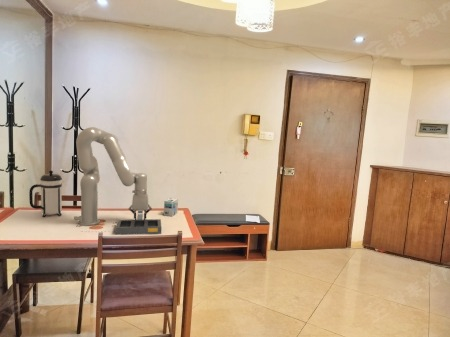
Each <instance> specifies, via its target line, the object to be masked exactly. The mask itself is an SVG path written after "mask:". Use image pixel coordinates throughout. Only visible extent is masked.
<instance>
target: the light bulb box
mask: <svg viewBox="0 0 450 337" xmlns="http://www.w3.org/2000/svg"><path fill="white" fill-rule="evenodd" d="M163 202H164V206H163V216H165V217H174V216H176V215H177V214H178V208H179V207H178V204H179V203H178V202H179V199H178V198H172V197H169V198H167V199H165V200H164V201H163Z"/></svg>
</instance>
